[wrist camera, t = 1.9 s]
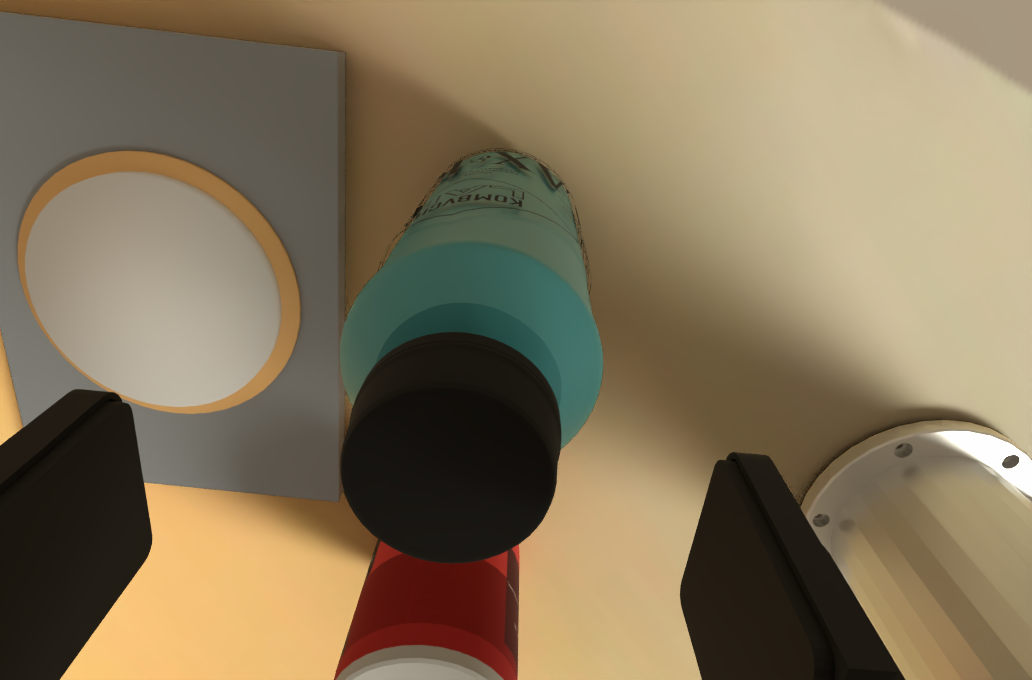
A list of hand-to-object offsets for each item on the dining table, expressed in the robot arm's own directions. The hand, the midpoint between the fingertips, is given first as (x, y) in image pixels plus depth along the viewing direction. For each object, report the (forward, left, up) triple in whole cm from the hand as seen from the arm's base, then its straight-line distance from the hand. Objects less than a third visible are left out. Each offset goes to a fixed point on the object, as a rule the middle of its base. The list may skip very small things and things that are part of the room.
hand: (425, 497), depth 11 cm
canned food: (+1, +19, -21) cm, 28 cm away
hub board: (+15, +5, -21) cm, 26 cm away
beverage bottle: (0, 0, -21) cm, 21 cm away
